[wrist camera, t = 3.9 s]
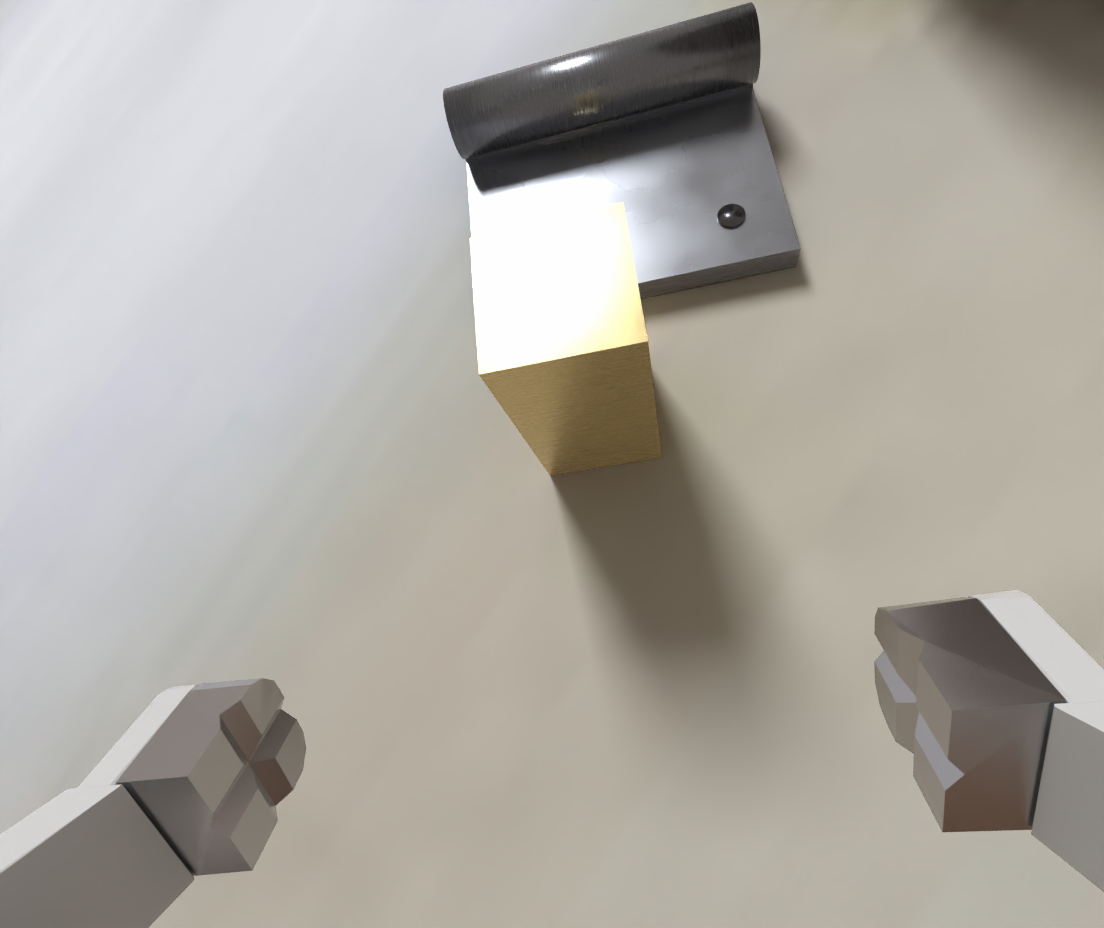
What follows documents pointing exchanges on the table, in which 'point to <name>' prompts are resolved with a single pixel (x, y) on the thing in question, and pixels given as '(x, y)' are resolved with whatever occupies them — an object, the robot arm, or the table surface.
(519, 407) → the tan wooden block
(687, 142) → the fixed leaf
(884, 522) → the table surface
